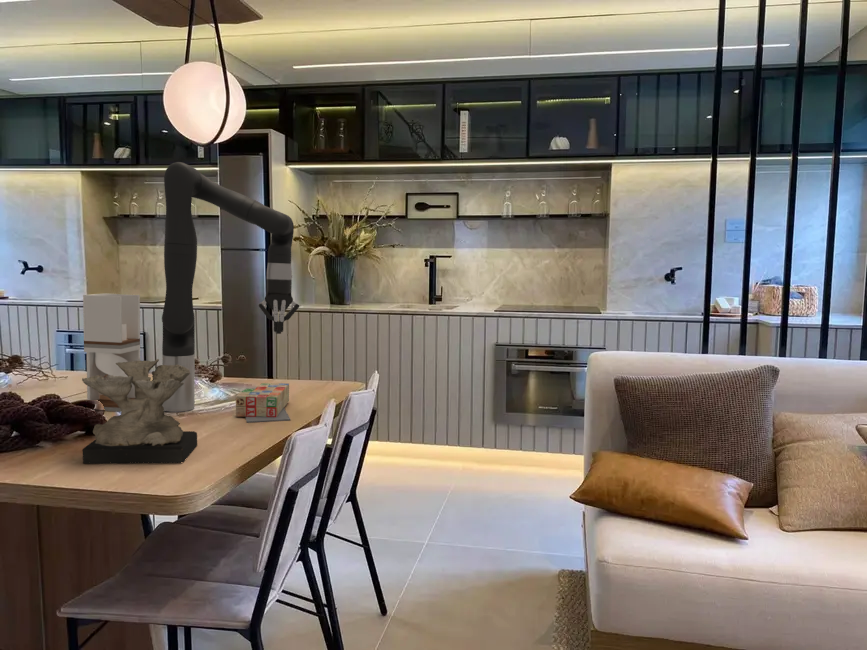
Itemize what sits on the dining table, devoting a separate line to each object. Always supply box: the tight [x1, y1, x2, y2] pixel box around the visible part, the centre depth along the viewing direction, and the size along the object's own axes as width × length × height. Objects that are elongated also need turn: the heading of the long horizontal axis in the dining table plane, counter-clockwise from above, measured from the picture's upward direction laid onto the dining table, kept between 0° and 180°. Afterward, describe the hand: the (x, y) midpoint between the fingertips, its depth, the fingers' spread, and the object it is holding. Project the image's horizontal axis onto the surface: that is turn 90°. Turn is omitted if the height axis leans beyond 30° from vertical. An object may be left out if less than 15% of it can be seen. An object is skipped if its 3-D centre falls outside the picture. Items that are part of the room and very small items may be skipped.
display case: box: [82, 293, 141, 412], centre depth 184 cm, size 11×11×35 cm
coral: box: [81, 358, 198, 465], centre depth 143 cm, size 25×20×21 cm
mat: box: [244, 407, 291, 424], centre depth 186 cm, size 12×24×1 cm, turn 21°
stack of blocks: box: [235, 382, 290, 417], centre depth 188 cm, size 21×6×12 cm
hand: (278, 333), depth 185 cm, fingers closed
